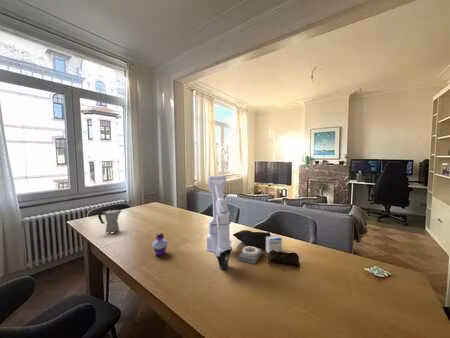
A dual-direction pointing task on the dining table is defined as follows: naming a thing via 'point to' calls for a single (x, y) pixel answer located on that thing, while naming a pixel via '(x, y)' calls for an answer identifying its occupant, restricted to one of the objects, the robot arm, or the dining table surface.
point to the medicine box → (274, 243)
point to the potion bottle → (160, 245)
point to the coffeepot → (110, 220)
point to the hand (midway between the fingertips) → (223, 264)
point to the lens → (225, 263)
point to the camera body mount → (249, 254)
